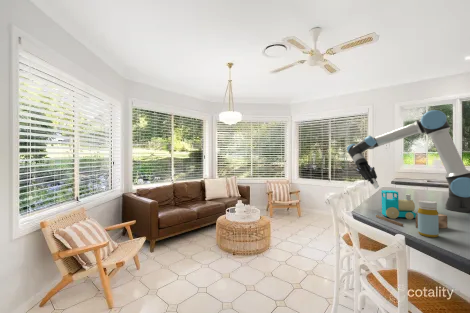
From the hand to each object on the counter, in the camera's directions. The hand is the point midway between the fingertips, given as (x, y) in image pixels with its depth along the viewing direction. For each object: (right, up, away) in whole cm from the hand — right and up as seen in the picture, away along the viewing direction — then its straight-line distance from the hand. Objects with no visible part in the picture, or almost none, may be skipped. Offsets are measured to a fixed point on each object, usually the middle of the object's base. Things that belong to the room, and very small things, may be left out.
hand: (377, 187), depth 150 cm
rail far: (-9, -15, -25) cm, 31 cm away
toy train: (+3, -15, -17) cm, 23 cm away
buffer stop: (+4, -15, -37) cm, 40 cm away
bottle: (-6, -15, -47) cm, 50 cm away
